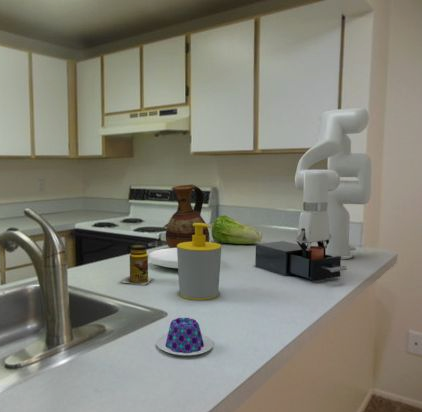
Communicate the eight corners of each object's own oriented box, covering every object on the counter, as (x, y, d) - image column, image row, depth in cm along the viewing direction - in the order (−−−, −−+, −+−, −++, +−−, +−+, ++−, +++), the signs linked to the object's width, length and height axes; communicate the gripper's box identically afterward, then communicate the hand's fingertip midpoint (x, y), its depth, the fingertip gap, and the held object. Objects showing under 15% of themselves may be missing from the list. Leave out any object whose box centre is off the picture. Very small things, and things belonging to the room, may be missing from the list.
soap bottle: (210, 303, 113) (210, 227, 111) (169, 296, 120) (168, 224, 118) (227, 291, 124) (228, 222, 122) (188, 285, 131) (188, 219, 129)
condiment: (145, 285, 131) (145, 248, 130) (120, 283, 134) (120, 247, 133) (152, 279, 138) (151, 244, 137) (128, 277, 141) (128, 243, 140)
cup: (313, 259, 142) (313, 245, 141) (327, 263, 136) (327, 248, 136) (300, 261, 139) (300, 246, 139) (314, 265, 134) (314, 249, 133)
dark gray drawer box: (314, 271, 146) (314, 247, 146) (285, 276, 141) (286, 251, 140) (282, 262, 160) (283, 240, 160) (255, 266, 155) (255, 244, 154)
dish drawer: (353, 280, 131) (354, 259, 131) (325, 285, 126) (326, 263, 125) (306, 267, 149) (306, 248, 148) (280, 271, 144) (280, 252, 143)
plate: (155, 245, 174) (219, 247, 168) (155, 260, 174) (219, 263, 168) (142, 251, 146) (217, 254, 141) (141, 269, 146) (217, 273, 141)
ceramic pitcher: (156, 249, 188) (156, 184, 185) (186, 243, 202) (186, 183, 199) (188, 256, 174) (188, 185, 171) (218, 249, 187) (218, 184, 184)
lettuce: (262, 247, 204) (255, 256, 191) (215, 236, 214) (206, 243, 201) (267, 220, 200) (260, 227, 188) (219, 210, 211) (210, 216, 198)
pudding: (150, 337, 91) (150, 314, 90) (201, 331, 94) (201, 309, 93) (164, 362, 79) (164, 336, 79) (222, 355, 82) (222, 329, 82)
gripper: (324, 205, 143) (322, 255, 145) (287, 208, 136) (286, 261, 138) (342, 207, 136) (341, 260, 138) (304, 210, 129) (303, 265, 131)
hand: (313, 260), depth 138 cm, fingers closed on cup, 6 cm apart
